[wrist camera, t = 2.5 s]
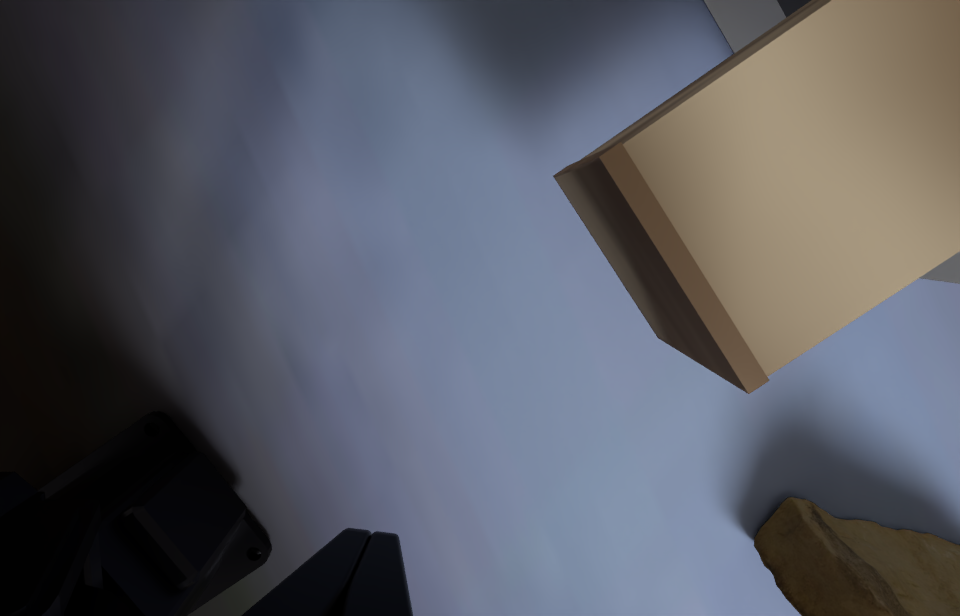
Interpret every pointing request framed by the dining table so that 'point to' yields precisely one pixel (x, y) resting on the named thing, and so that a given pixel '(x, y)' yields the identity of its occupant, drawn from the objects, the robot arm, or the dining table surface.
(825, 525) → the rock
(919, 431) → the dining table surface
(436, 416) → the dining table surface
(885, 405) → the dining table surface
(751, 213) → the peg
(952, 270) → the off-white upright box
